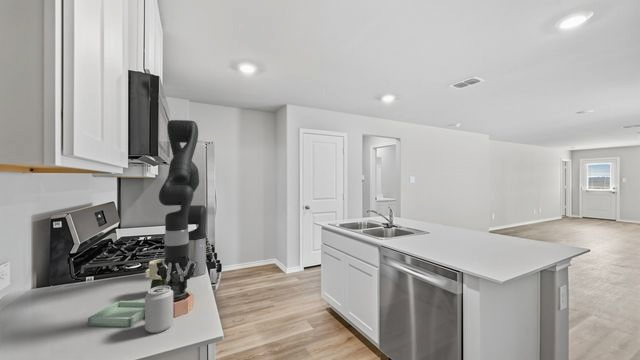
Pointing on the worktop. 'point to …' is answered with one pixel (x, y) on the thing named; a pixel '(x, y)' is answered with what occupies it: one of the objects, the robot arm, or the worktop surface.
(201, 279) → the worktop surface
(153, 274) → the character mug
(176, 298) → the grey lumpy tower
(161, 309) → the can
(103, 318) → the tray
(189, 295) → the orange polygonal bowl
